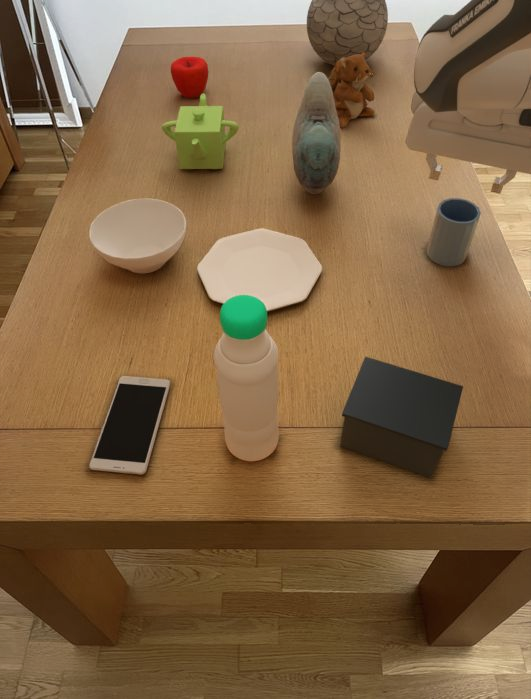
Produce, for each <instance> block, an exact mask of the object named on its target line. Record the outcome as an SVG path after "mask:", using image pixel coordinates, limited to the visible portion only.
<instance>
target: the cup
mask: <svg viewBox="0 0 531 699" xmlns="http://www.w3.org/2000/svg"><path fill="white" fill-rule="evenodd" d="M481 215H482V213H481V210H480V207H479V206H478V205H477V204H475V203H474V202H473V201H470V200H468V199H465V198H459V197H451V198H447V199H443V200H442V201H441V202H439V203H438V206H437V208H436V213H435V215H434V220H433V225H432V227H431V231H430V235H429V239H428V244H427V247H426V255H427V256H428V258H429V259H430V260H431V261H432V262H433V263H435V264H437V265H439V266H443V267H455V266H459V265H461V264H463V263H464V262H465V261H466V260H467V256H468V254H469V250H470V247H471V245H472V243H473V238H474V235H475V232H476V230H477V226H478V224H479V220H480V217H481Z"/></svg>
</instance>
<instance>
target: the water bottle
mask: <svg viewBox="0 0 531 699" xmlns="http://www.w3.org/2000/svg"><path fill="white" fill-rule="evenodd" d="M219 322H220V325H221V329H222V332H223V333H222V335H221V337H220V338H219V340H218V342H217V343H216V345H215V347H214V352H213V353H214V354H213V362H214V366H215V369H216V380H217V381H216V382H217V389H218V390H217V391H218V396H219V397H218V398H219V403H220V407H221V412H222V414H221V418H222V425H223V428H224V429H223V430H224V433H223V434H224V441H225V445H226V447H227V449H228V451H229V453H231V454H232V455H233V456H234V457H235V458H237V459H239V460H241V461H245V462H257V461H258V462H259V461H261V460H264V459H266V458H268V457H269V456H271V454H273V452H274V451H276V448H277V446H278V443H279V438H280V432H279V416H280V415H279V408H278V405H279V404H278V403H279V393H280V392H279V388H280V386H279V384H280V382H279V368H278V364H279V360H280V359H279V358H280V354H279V349H278V346H277V343H276V342H275V340H274V338H273V337H272V336H271V335H270V334H269V332H268V330H266V328H267V324H268V312H267V309H266V307H265V305H264V303H263V302H261V300H259V299H258V298H255V297H254V296H251V295H250V296H249V295H239V296H237V295H236V296H235V297H232V298H230V299H229V300H227V301H226V302H225V303H224V304H221V307H220V310H219Z"/></svg>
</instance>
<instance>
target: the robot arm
mask: <svg viewBox="0 0 531 699" xmlns="http://www.w3.org/2000/svg"><path fill="white" fill-rule="evenodd" d="M413 83H414V90H415V92H414V94H413V96H412V100H411V104H410V109H411V112H412V114H413V116H412V119H411V121H410V124H409V126H408V130H407V134H406V137H405V142H404V143H405V145H406V147H407V148H408V150H410V151H413V152H414V151H415V152H418V153H423V154H426V157H425V160H426V163H427V166H428V168H429V170H430V172H429V176H428V179H430V180H434V181H439V179H440V177H441V174H442V170H443V165H441V164H438V161H437V157H444V158H448V159H454V160H459V161H463V162H468V163H472V164H473V163H474V164H477V165H483V166H488V167H493V168H497V169H503V170H506V171H505V173H504V174H503V175H502V176H501V177H498V176H494V179H493V183H492V184H491V185H492V186H491V188H490V189H491V190H490V192H491V193H494V194H498V195H500V194H501V193H502V191H503V188H504V186H505V185H507V184H508V183H509V182H510V181H512V180H513V179H514V178H515V177H516V175H517V173H523V174H526V175H531V0H470V1H469V2H468V3H466V4H465V5H464V6H463V7H461V8H460V9H459V11H457V12H456V13H454V14H443V15H442V16H440V18H438V19H437V20H436V21H435V22H434V23H432V25H431V26H430V27H429V28H428V29H427V30H426V31H425V33H424V34H423V36H422V37H421V39H420V42H419V44H418V47H417V51H416V55H415V61H414V68H413Z"/></svg>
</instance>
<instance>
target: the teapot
mask: <svg viewBox="0 0 531 699" xmlns="http://www.w3.org/2000/svg"><path fill="white" fill-rule="evenodd" d="M172 127H175V128H174V131H173V130H172ZM226 127H228V128H230V129H229V130H228V132H227V133H226ZM239 128H240V126H239V123H237V122H236V121H233V120H228V119H225V114H224V106H223V105H208V104H207V94H206V93H204V92H203V94H201V96H199V105H188V106H187V105H181V106H179V110H178V115H177V119H176V120H170V121H166V122H164V123H163V124H162V125H161V130H162V132H163V133H164V134H165V135H166V136H167V137H168V138H170V139H171V140H173V141H174V142H175V147H176V148H175V149H176V154H177V160H178V167H179V170H219V169H221V170H222V169H223V168H224V163H225V162H224V161H225V153H226V152H225V151H226V143H227V142H228V141H230V140H231V139H232V138H233V137H234V136H235V135H236V134H237V133H238V131H239Z"/></svg>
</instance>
